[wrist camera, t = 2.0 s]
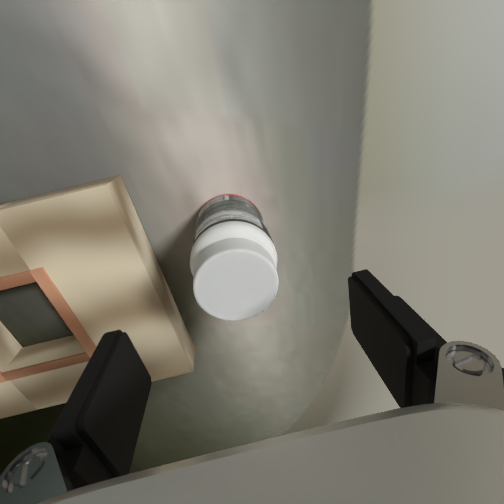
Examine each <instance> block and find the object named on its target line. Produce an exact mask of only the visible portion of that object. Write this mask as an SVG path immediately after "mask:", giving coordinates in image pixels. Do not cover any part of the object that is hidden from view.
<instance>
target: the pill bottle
mask: <svg viewBox="0 0 504 504" xmlns="http://www.w3.org/2000/svg"><path fill="white" fill-rule="evenodd" d="M190 268H191V273H192V275H193V292H194V296H195V298H196V301H197V302H198V304H199V305H200V307H201V308H202V309H203V310H204V311H206V312H207V313H208V314H210V315H212V316H214V317H216V318H219V319H223V320H230V321H238V320H244V319H248V318H251V317H254V316H256V315H258V314H260V313H261V312H263V311H264V310H265V309H266V308H267V307H268V306H269V305H270V304H271V303H272V302H273V300H274V298H275V297H276V294H277V291H278V284H279V281H278V275H277V271H276V268H277V253H276V250H275V246H274V244H273V242H272V239H271V237H270V235H269V233H268V230H267V228H266V226H265V224H264V221H263V219H262V216H261V214H260V212H259V210H258V209H257V207H256V206H255V205H254V204H253V203H252V202H251V201H250V200H248V199H247V198H245V197H243V196H240V195H237V194H222V195H218V196H216V197H214V198H212V199H210V200H209V201H208V202H207V203H205V205H204V206H203V207H202V209H201V210H200V212H199V214H198V218H197V223H196V229H195V235H194V240H193V245H192V250H191V256H190Z"/></svg>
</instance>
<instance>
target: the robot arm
mask: <svg viewBox="0 0 504 504" xmlns="http://www.w3.org/2000/svg"><path fill="white" fill-rule="evenodd" d="M348 285H349V300H350V315H351V328H352V331H353V334H354V336H355V337H356V339H357V340H358V342H359V343H360V345H361V347H362V348H363V350H364V351H365V353H366V355H367V356H368V358H369V359H370V361H371V362H372V364H373V366H374V367H375V369H376V370H377V372H378V374H379V375H380V377H381V378H382V380H383V381H384V383H385V384H386V386H387V388H388V389H389V391H390V393H391V394H392V396H393V397H394V399H395V400H396V402H397V403H398V405H399V406H400V408H399V409H394V410H390V411H385V412H381V413H376V414H372V415H367V416H363V417H358V418H354V419H350V420H345V421H341V422H338V423H333V424H329V425H325V426H320V427H316V428H312V429H308V430H304V431H300V432H296V433H291V434H288V435H283V436H279V437H275V438H271V439H267V440H263V441H259V442H255V443H250V444H246V445H242V446H238V447H234V448H230V449H226V450H222V451H218V452H214V453H210V454H206V455H202V456H198V457H194V458H190V459H186V460H182V461H178V462H174V463H170V464H166V465H162V466H158V467H154V468H150V469H147V470H143V471H139V472H135V473H131V474H128V473H129V470H130V466H131V462H132V458H133V454H134V450H135V447H136V443H137V439H138V435H139V431H140V427H141V423H142V419H143V415H144V411H145V407H146V403H147V400H148V396H149V392H150V388H151V376H150V374H149V372H148V371H147V369H146V367H145V365H144V363H143V361H142V360H141V358H140V356H139V354H138V352H137V351H136V349H135V347H134V345H133V343H132V341H131V340H130V338H129V336H128V334H127V333H126V332H122V331H121V330H115V331H111V332H107V333H104V334H103V336H102V338H101V340H100V341H99V343H98V345H97V347H96V349H95V351H94V352H93V354H92V356H91V358H90V360H89V362H88V364H87V365H86V367H85V369H84V371H83V373H82V375H81V376H80V378H79V380H78V382H77V384H76V386H75V388H74V389H73V391H72V393H71V395H70V397H69V399H68V400H67V402H66V404H65V406H64V408H63V410H62V412H61V413H60V415H59V417H58V419H57V421H56V423H55V425H54V426H53V428H52V430H51V432H50V434H51V435H52V436H51V437H50V439H49V441H48V443H47V442H41V443H37V444H35V445H32V446H30V447H29V448H27V449H26V450H24V451H23V452H21V453H20V454H19V455H18V456H17V457H15V458H14V459H13V460H12V461H11V463H10V464H9V465H8V466H7V467H6V468H5V470H4V471H3V473H2V474H1V476H0V504H504V368H502V367H501V365H500V362H499V360H498V359H497V358H496V357H495V355H493V354H492V353H491V352H490V351H488V350H487V349H485V348H483V347H481V346H479V345H477V344H473V343H470V342H464V341H452V342H449V343H447V342H446V341H445V340H444V339H443V338H442V337H441V336H440V335H439V334H438V333H437V332H436V331H435V330H434V329H433V328H432V327H430V326H429V325H428V324H427V323H426V322H425V321H424V320H423V319H422V318H421V317H420V316H419V315H418V314H417V313H416V312H415V311H414V310H413V309H412V308H411V307H410V306H409V305H408V304H407V303H406V302H405V301H404V300H403V299H402V298H400V297H399V296H393V295H392V294H391V293H390V292H389V291H388V290H387V289H386V288H385V287H384V286H383V285H382V284H381V283H380V282H379V281H378V280H377V279H376V278H375V277H374V276H373V275H372V274H371V273H370V272H369V271H368V270H362V271H358V272H353V273H352V277H349V278H348Z"/></svg>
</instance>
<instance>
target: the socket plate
mask: <svg viewBox="0 0 504 504" xmlns="http://www.w3.org/2000/svg"><path fill="white" fill-rule="evenodd" d="M33 282H37V283H38V285H39V286H40V288H41V289H42V290H43V292H44V293H45V295H46V296H47V297H48V299H49V300H50V302H51V303H52V305H53V306H54V307H55V309H56V310H57V312H58V313H59V315H60V316H61V317H62V319H63V320H64V322H65V323H66V324H67V326H68V327H69V329H70V330H71V332H72V333H73V334H74V335H71V336H67V337H63V338H59V339H55V340H51V341H47V342H42V343H38V344H34V345H30V346H26V347H22V346H21V345H20V344H19V343H18V341H17V340H16V339H15V338H14V337H13V335H12V334H11V333H10V332H9V331H8V330H7V328H6V327H5V326H4V325H3V324H2V322H1V321H0V419H1V418H6V417H10V416H14V415H18V414H22V413H26V412H30V411H34V410H38V409H42V408H46V407H50V406H55V405H59V404H63V403H66V402H67V400H68V399H69V397H70V395H71V393H72V391H73V389H74V388H75V386H76V384H77V382H78V380H79V378H80V376H81V375H82V373H83V371H84V369H85V367H86V365H87V364H88V362H89V360H90V358H91V356H92V354H93V352H94V351H95V349H96V347H97V345H98V343H99V341H100V340H101V338H102V336H103V334H104V333H107V332H111V331H115V330H121V331H122V332H126V333H127V334H128V336H129V338H130V340H131V341H132V343H133V345H134V347H135V349H136V351H137V352H138V354H139V356H140V358H141V360H142V361H143V363H144V365H145V367H146V369H147V371H148V372H149V374H150V376H151V382H153V381H157V380H161V379H165V378H169V377H173V376H177V375H181V374H185V373H189V372H193V368H194V357H195V347H194V345H193V342H192V340H191V338H190V336H189V333H188V331H187V329H186V326H185V324H184V322H183V319H182V317H181V315H180V312H179V310H178V308H177V305H176V303H175V301H174V299H173V296H172V294H171V292H170V289H169V287H168V285H167V282H166V280H165V278H164V275H163V273H162V271H161V268H160V266H159V264H158V262H157V259H156V257H155V255H154V252H153V250H152V248H151V245H150V243H149V241H148V238H147V236H146V234H145V231H144V229H143V227H142V225H141V222H140V220H139V218H138V215H137V213H136V211H135V208H134V206H133V204H132V201H131V199H130V197H129V195H128V192H127V190H126V188H125V185H124V183H123V181H122V178H121V176H116V177H112V178H108V179H103V180H99V181H95V182H91V183H87V184H83V185H78V186H74V187H70V188H66V189H62V190H58V191H53V192H49V193H45V194H41V195H37V196H33V197H28V198H24V199H20V200H16V201H12V202H7V203H3V204H0V290H4V289H8V288H13V287H17V286H21V285H25V284H29V283H33Z"/></svg>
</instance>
